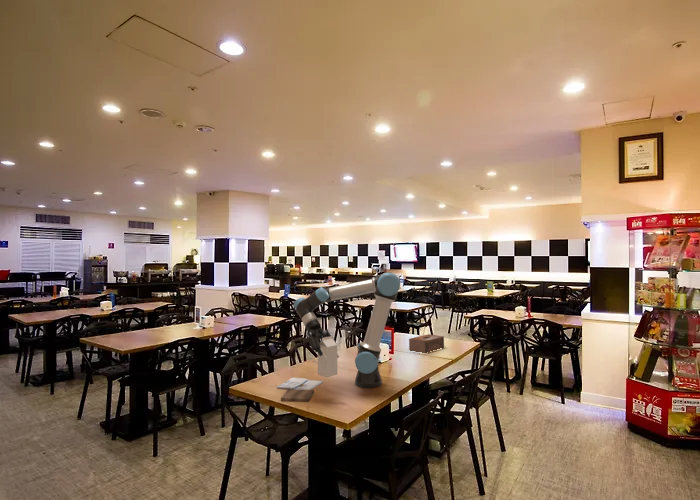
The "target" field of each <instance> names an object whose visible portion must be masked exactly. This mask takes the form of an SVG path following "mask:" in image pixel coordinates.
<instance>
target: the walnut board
mask: <svg viewBox="0 0 700 500" xmlns="http://www.w3.org/2000/svg"><path fill="white" fill-rule="evenodd" d="M314 393H315V389H312V390H302V389H286V391H285V392H284V394H283V395H282V397H281V398H280V402H302V403H303V402H304V403H309V402H310V401H311V399H312V397H313V395H314Z"/></svg>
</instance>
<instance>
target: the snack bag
mask: <svg viewBox="0 0 700 500" xmlns="http://www.w3.org/2000/svg"><path fill="white" fill-rule="evenodd" d="M323 383H324V380H314V379H313V380H312V379H308V378H303V377H302V378H301V377H294V376H292V377H291V378H289V379H287V380H286V381H284V382H283V383H281V384H279V385H277V386H276V388H277V389H280V390H288V389H302V390H314V388H316V387H318V386H319V385H321V384H323Z"/></svg>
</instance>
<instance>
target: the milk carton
mask: <svg viewBox="0 0 700 500" xmlns="http://www.w3.org/2000/svg"><path fill="white" fill-rule="evenodd" d="M332 337H333V336H332V335H331V336H330V337H325V338H322V340H321V341H319V345H320V348H322V349H323V351H324V353H325V355H326V356H327V358H328V359H327V360H326V362H324V361H323V359H322V357H321V356H320V355H319V354H318V353H317V376H322V377H324V378H330V377H334V376H337V375H338V359H337V352H338V343H337V341H336V340H335V339H334V338H332ZM333 339H334V340H335V341H336V342H335V341H334V340H333ZM336 343H337V344H336Z"/></svg>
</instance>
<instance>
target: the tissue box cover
mask: <svg viewBox="0 0 700 500" xmlns="http://www.w3.org/2000/svg"><path fill="white" fill-rule="evenodd" d="M440 348H444V349H445V336H443V335H437V334H436V335H435V334H429V333H428V334H424V335H418V336H416V337H415V336H414V337H410V338H408V351H409V350H410V351H416V352H422V353H427V352H430V351H433V350H437V349H440Z"/></svg>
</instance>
